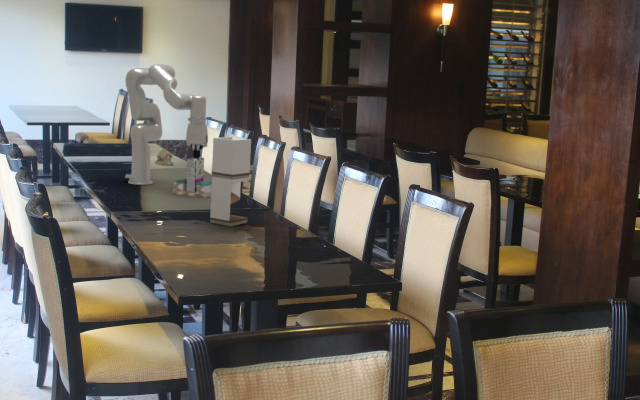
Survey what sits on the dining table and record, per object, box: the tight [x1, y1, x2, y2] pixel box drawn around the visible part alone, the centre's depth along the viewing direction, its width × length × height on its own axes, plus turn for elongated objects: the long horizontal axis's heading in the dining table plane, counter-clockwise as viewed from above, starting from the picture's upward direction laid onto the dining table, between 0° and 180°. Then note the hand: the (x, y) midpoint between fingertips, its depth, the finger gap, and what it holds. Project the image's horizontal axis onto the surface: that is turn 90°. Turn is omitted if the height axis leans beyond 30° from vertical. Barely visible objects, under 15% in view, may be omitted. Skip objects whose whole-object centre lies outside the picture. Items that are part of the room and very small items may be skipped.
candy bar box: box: [186, 156, 205, 192], centre depth 398 cm, size 11×5×16 cm, turn 167°
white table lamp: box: [209, 136, 252, 227], centre depth 331 cm, size 11×11×35 cm
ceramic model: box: [154, 148, 174, 167], centre depth 504 cm, size 14×11×10 cm
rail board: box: [171, 177, 212, 199], centre depth 399 cm, size 18×14×6 cm
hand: (196, 158), depth 396 cm, fingers closed
